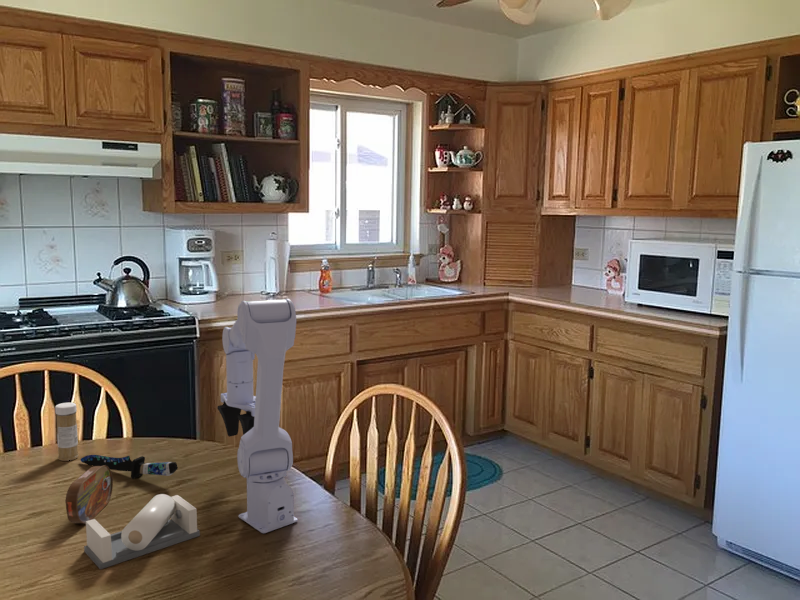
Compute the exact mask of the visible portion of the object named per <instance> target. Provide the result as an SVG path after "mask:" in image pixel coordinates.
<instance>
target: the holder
mask: <svg viewBox="0 0 800 600" xmlns="http://www.w3.org/2000/svg"><path fill="white" fill-rule="evenodd" d="M170 497H171V498H172V499H173V500H174V502H175V505H176V510H175V513H174V514H173V516H172V517H171V518H170V519H169V520H168V522H167V523H166V524H165V525H164V526H163V527H162V529H161V530H160V531H159V532H158V533H157V535H156V536H155V537H154V538H153V539H152V540H151V542H150V543H149V544H148V545H147V546H146V547H145V548H144V549H142V550H138V551H135V550H131V549H129V548H127V547H126V546H125V545H124V543H123V542H122V538H121V534H122V531H123V530H121V531H118V532H115V533H110V532H109V531H107V529H106V528H105V527H103V526H102V524H100V522H99V521H97V519H96V518H93V519H92V520H89V521H86V524H85V531H86V532H85V533H86V545H85V546H84V547H83V550H84V553H85V554H86V555H87V556H88V558H89V559H90V560H91V561H92V562H93V563H94V564H95V566H96V567H98V569H99V570H103V569H106V568H109V567H112V566H115V565H118V564H120V563H123V562H127V561H129V560H132V559H136V558H138V557H141V556H143V555H144V556H145V555H148V554H150V553H153V552H156V551H158V550H163V549H165V548H168V547H171V546H173V545H177V544H179V543H183V542H186V541H189V540H192V539H194V538H198V537H200V535H201V532H200V529H198V515H197V514H198V513H197V511H198V510H197V508H196V507H195V506H193V505H192V504H191V503H190V502H188V501H187V500H185V499H184V498H183V497H181V496H180V495H178V494H175V495H173V496H170Z"/></svg>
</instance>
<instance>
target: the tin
mask: <svg viewBox="0 0 800 600" xmlns="http://www.w3.org/2000/svg"><path fill="white" fill-rule="evenodd" d="M113 481H114V480H113V473H112V470H110V469H109V467H108V466H106V465H103V466H90V468H88V469H87V470H85V472H83V473H82V474H81V475H80V476H79V477H78V478H77V479H75V480H74V481H73V482H72V483H71V484H70V485H69V487H68V489H67V492H66V496H65V511H66V515H67V516H66V517H67V520H68V521H69V522H70V523H72V524H85V525H86V521H89V520H92V519H95V517H96V516H97V515H98V514H99V513H100V512H101V511H102V510H103V509H104V508H105V507H106V506H108V504H109V502H110V500H111V497H112V493H113V488H114V487H113V486H114V485H113V484H114V482H113Z"/></svg>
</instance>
